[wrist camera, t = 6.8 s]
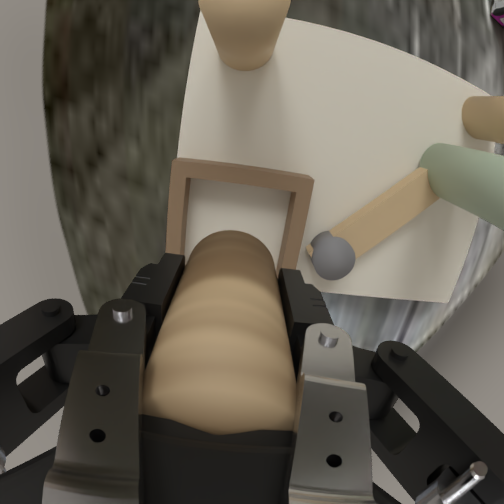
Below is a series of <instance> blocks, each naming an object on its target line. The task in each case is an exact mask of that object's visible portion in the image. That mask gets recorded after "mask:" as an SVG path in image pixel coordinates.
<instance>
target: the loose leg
mask: <svg viewBox="0 0 504 504" xmlns="http://www.w3.org/2000/svg"><path fill="white" fill-rule="evenodd" d="M295 405H296V378H295V372H294V367H293V361H292V355H291V350H290V344H289V339H288V333H287V328H286V322H285V317H284V312H283V306H282V301H281V296H280V290H279V285H278V280H277V275H276V270H275V264H274V260H273V257H272V255H271V253H270V251H269V250H268V248H267V247H266V246H265V245H264V244H263V243H262V242H261V241H260V240H259V239H257V238H256V237H254V236H252V235H250V234H248V233H245V232H242V231H237V230H224V231H218V232H215V233H212V234H210V235H208V236H206V237H205V238H203V239H202V240H201V241H200V242H199V243H198V244H197V245H196V246H195V247H194V249H193V250H192V252H191V254H190V257H189V259H188V261H187V264H186V266H185V268H184V271H183V273H182V276H181V278H180V281H179V283H178V286H177V288H176V291H175V293H174V296H173V298H172V301H171V303H170V306H169V308H168V311H167V313H166V316H165V318H164V321H163V324H162V326H161V329H160V331H159V334H158V337H157V339H156V342H155V345H154V347H153V350H152V353H151V356H150V358H149V361H148V364H147V367H146V369H145V376H144V386H143V400H142V414H145V415H150V416H155V417H160V418H166V419H171V420H174V421H177V422H179V423H182V424H185V425H187V426H190V427H193V428H196V429H199V430H201V431H204V432H207V433H210V434H214V435H225V434H234V433H242V432H249V431H256V430H286V431H293V426H294V417H295Z"/></svg>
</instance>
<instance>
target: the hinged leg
mask: <svg viewBox="0 0 504 504" xmlns="http://www.w3.org/2000/svg"><path fill="white" fill-rule="evenodd" d="M439 198H442V199H444V200H446V201H448V202H450V203H452V204H454V205H456V206H458V207H460V208H462V209H464V210H466V211H468V212H470V213H472V214H474V215H476V216H478V217H480V218H482V219H483V220H485V221H487V222H489V223H491V224H493V225H495V226H496V227H498V228H500V229H502V230H503V231H504V156H502V155H497V154H493V153H489V152H485V151H480V150H476V149H471V148H466V147H461V146H456V145H450V144H445V143H436V144H433V145H431V146H430V147H428V148H427V150H426V151H425V152H424V154H423V156H422V158H421V161H420V167H419V168H417V169H416V170H415V171H413V172H412V173H410V174H409V175H408V176H406V177H405V178H404V179H402V180H401V181H399V182H398V183H396V184H395V185H394V186H392V187H391V188H389V189H388V190H387V191H385V192H384V193H382V194H381V195H380V196H378V197H377V198H375V199H374V200H372V201H371V202H370V203H368V204H367V205H365V206H364V207H362V208H361V209H360V210H358V211H357V212H355V213H354V214H352V215H351V216H350V217H348V218H347V219H345V220H344V221H342V222H341V223H339V224H338V225H337V226H335V227H334V228H332V229H331V230H329V231H324V232H321V233H319V234H318V235H316V236H315V237H314V238H313V240H312V241H311V243H310V244H309V245H307V246H306V249H307V251H308V253H309V257H310V259H311V262H312V264H313V266H314V268H315V271H316V272H317V274H318V275H319V276H320V277H322V278H323V279H326V280H339V279H341V278H343V277H345V276H346V275H348V274H349V273H350V272H351V270H352V269H353V267H354V264H355V259H357V258H358V257H360V256H361V255H363V254H364V253H365V252H367V251H368V250H370V249H371V248H373V247H374V246H375V245H377V244H378V243H380V242H381V241H383V240H384V239H385V238H387V237H388V236H390V235H391V234H392V233H394V232H395V231H397V230H398V229H399V228H401V227H402V226H403V225H405V224H406V223H407V222H409V221H410V220H412V219H413V218H414V217H416V216H417V215H418V214H420V213H421V212H422V211H424V210H425V209H426V208H428V207H429V206H430V205H432V204H433V203H434V202H436V201H437V200H438V199H439Z"/></svg>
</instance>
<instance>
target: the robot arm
mask: <svg viewBox="0 0 504 504" xmlns="http://www.w3.org/2000/svg"><path fill="white" fill-rule="evenodd" d="M184 268H185V255H180V254H172V253H165V254H164V256H163V257H162V259H161V261H160V262H159V264H152V263H150V264H148V265H146V266H145V267H143V268H141V269H140V271H139V272H138V273H137V275H136V277H135V278H134V279H133V281H132V283H131V284H130V285H129V287H128V288H127V290H126V291H125V293H124V294H123V296H122V298H121V299H114V300H111V301H108V302H106V303H105V304H103V305H102V306H101V308H100V309H99V312H98V314H97V315H74V311H73V307H72V305H71V304H70V303H69V302H67V301H65V300H62V299H47V300H44V301H41V302H39V303H37V304H35V305H34V306H32V307H30V308H29V309H27V310H25V311H23V312H22V313H20V314H18V315H16V316H15V317H13V318H11V319H9V320H8V321H6V322H4V323H3V324H1V325H0V504H401V503H400V502H398V501H397V500H396V499H394V498H393V497H392V496H391V495H389V494H388V493H386V492H385V491H384V490H383V489H381V488H380V487H379V486H377V485H376V484H375V483H374V482H372V458H371V457H372V456H371V448H372V449H373V451H374V452H375V453H376V454H377V456H378V457H379V458H380V459H381V461H382V462H383V463H384V464H385V465H386V467H387V468H388V469H389V471H390V472H391V473H392V474H393V476H394V477H395V478H396V479H397V480H398V482H399V483H400V484H401V485H402V486H403V488H404V489H405V490H406V491H407V493H408V494H409V495H410V496H411V497H412V499H413V500H414V501H415V504H504V434H503V433H502V432H501V431H500V430H499V429H498V428H497V427H496V426H495V425H494V424H493V423H491V422H490V420H488V419H487V418H486V417H485V416H484V415H483V414H482V413H481V412H480V411H479V410H478V409H477V408H476V407H475V406H474V405H473V404H472V403H471V402H470V401H468V400H467V399H466V398H465V397H464V396H463V395H462V394H461V393H460V392H459V391H458V390H457V389H455V388H454V387H453V386H452V385H451V384H450V383H449V382H448V381H447V380H446V379H445V378H444V377H443V376H441V375H440V374H439V373H438V372H437V371H436V370H435V369H434V368H433V367H431V366H430V365H429V364H428V363H427V362H426V361H425V360H424V359H422V358H421V357H420V356H419V355H418V354H417V353H416V352H415V351H414V350H413V349H411V348H410V347H409V346H407V345H405V344H403V343H400V342H397V341H384V342H382V343H381V344H380V345H379V346H378V348H377V350H376V352H373V351H369V350H365V349H361V348H358V347H355V346H352V340H351V338H350V336H349V335H348V334H347V333H346V332H345V331H344V330H343V329H341V328H339V327H337V326H334V324H333V322H332V319H331V317H330V314H329V312H328V309H327V308H326V304H325V302H324V301H323V297H322V295H321V292H320V291H319V290H318V289H317V288H316V287H315V286H314V285H312V284H306V283H305V282H304V279H303V277H302V274H301V271H300V270H294V269H286V268H280V270H279V274H278V279H277V280H278V285H279V290H280V296H281V301H282V306H283V312H284V317H285V322H286V328H287V333H288V339H289V344H290V350H291V355H292V361H293V367H294V372H295V378H296V405H295V417H294V426H293V431H286V430H256V431H249V432H242V433H234V434H225V435H214V434H210V433H207V432H204V431H201V430H199V429H196V428H193V427H190V426H187V425H185V424H182V423H179V422H177V421H174V420H171V419H166V418H160V417H155V416H150V415H145V414H142V400H143V386H144V376H145V369H146V367H147V364H148V361H149V358H150V356H151V353H152V350H153V347H154V345H155V342H156V339H157V337H158V334H159V331H160V329H161V326H162V324H163V321H164V318H165V316H166V313H167V311H168V308H169V306H170V303H171V301H172V298H173V296H174V293H175V291H176V288H177V286H178V283H179V281H180V278H181V276H182V273H183V271H184ZM41 355H42V357H43V360H44V363H45V365H44V366H43V367H42V368H40V369H39V370H38V371H36V372H35V373H34V374H32V375H31V376H29V377H28V378H27V379H25V380H24V381H23V382H22V383H20V384H19V385H17V384H16V377H17V375H18V373H19V372H20V370H21V369H23V368H24V367H25V366H27V365H28V364H30V363H31V362H32V361H34V360H35V359H37V358H38V357H40V356H41ZM398 398H400V399H401V400H402V401H403V402H404V403H405V404H406V406H407V407H408V408H409V409H410V410H411V411H412V412H413V413H414V414H415V415H416V416H417V418H418V420H419V423H420V428H419V431H418V432H417V433H416V432H415V431H414V430H413V429H412V428H411V427H410V426H409V425H408V424H407V423H406V421H405V420H404V419H403V418H402V417H401V416H400V415H399V414H398V413H397V412H396V410H395V409H394V408H393V406H394V404H395V403H396V401H397V400H398ZM63 406H64V410H63V415H62V420H61V425H60V430H59V435H58V442H57V446H56V447H54V448H52V449H50V450H48V451H46V452H44V453H43V454H41V455H39V456H37V457H35V458H33V459H31V460H29V461H27V462H25V463H23V464H21V465H19V466H17V467H15V468H13V469H10V470H8V471H6V469H5V467H4V466H5V462H6V456H7V455H9V454H10V453H11V452H12V451H13V450H14V449H15V448H17V446H19V445H20V444H21V443H22V442H23V441H24V440H26V439H27V438H28V437H29V436H30V435H31V434H33V433H34V432H35V431H36V430H37V429H38V428H39V427H40V426H42V425H43V424H44V423H45V422H46V421H47V420H48V419H50V418H51V417H52V416H53V415H54V414H55V413H56V412H58V411H59V410H60V409H61V408H62V407H63Z"/></svg>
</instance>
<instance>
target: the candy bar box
mask: <svg viewBox="0 0 504 504" xmlns="http://www.w3.org/2000/svg"><path fill="white" fill-rule="evenodd" d="M491 16H492V17H493V18H494V19H496V20H497V21H498V22H499V23H500V24H501V25H502V26H503V27H504V0H492V5H491Z"/></svg>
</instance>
